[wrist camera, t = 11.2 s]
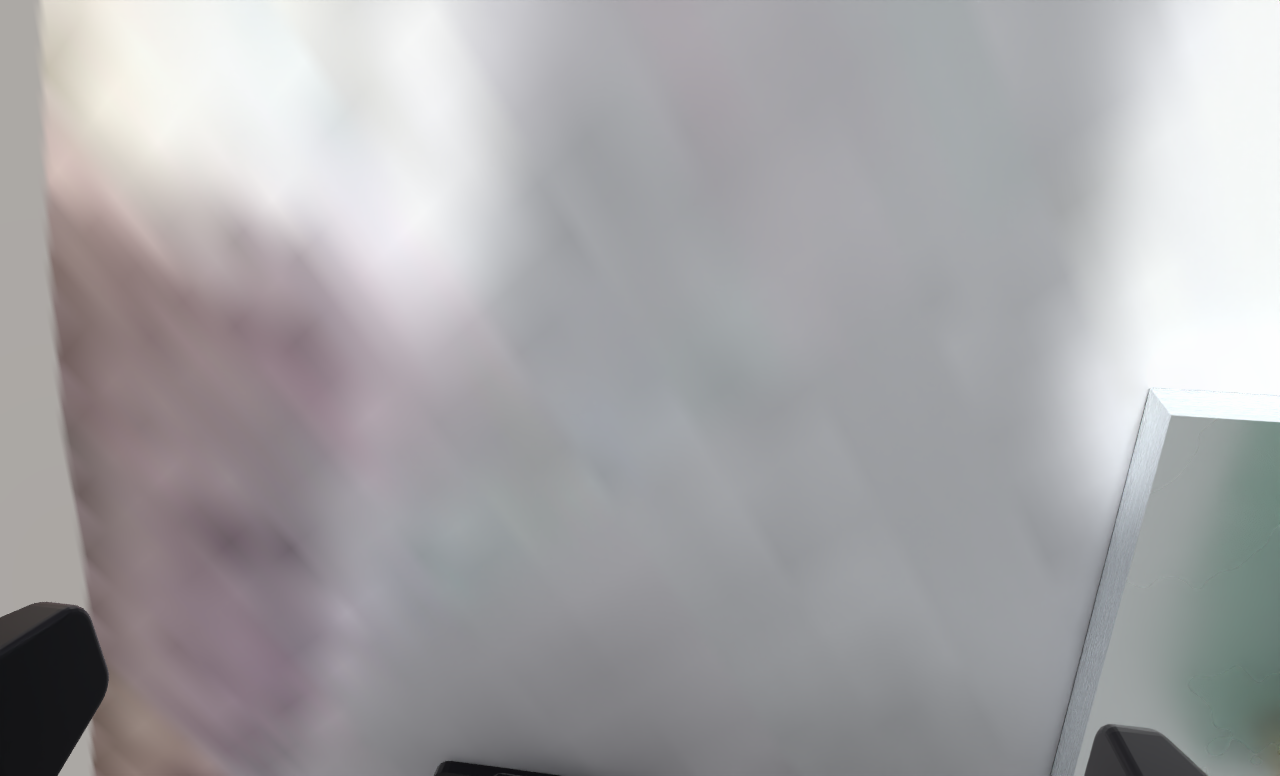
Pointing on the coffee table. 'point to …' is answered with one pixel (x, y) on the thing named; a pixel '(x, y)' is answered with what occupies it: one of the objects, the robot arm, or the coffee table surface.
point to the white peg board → (1191, 590)
